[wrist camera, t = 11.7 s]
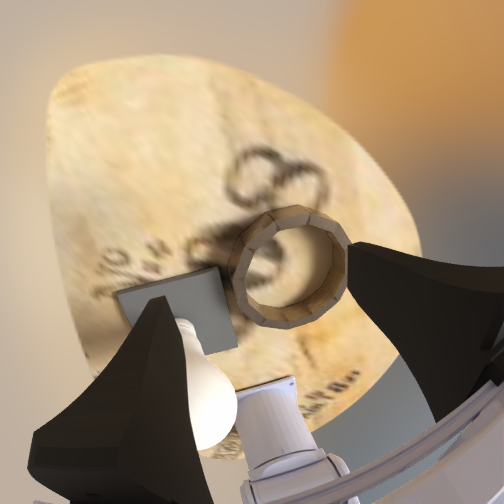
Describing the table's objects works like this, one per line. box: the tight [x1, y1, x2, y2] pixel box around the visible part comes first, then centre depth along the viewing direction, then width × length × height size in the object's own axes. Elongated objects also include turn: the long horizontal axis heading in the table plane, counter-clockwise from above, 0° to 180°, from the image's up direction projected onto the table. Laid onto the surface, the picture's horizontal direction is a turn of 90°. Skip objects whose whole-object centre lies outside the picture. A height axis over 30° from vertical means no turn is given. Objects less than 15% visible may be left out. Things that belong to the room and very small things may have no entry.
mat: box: [117, 266, 238, 355], centre depth 22 cm, size 8×8×1 cm
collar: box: [227, 205, 352, 330], centre depth 22 cm, size 10×10×2 cm
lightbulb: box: [175, 318, 237, 451], centre depth 17 cm, size 6×6×11 cm
